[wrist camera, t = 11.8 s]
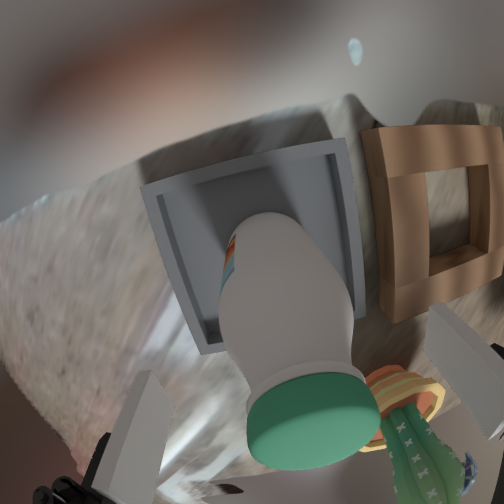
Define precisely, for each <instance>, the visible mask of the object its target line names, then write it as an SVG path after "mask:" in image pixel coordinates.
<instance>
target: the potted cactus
mask: <svg viewBox="0 0 504 504" xmlns="http://www.w3.org/2000/svg"><path fill="white" fill-rule="evenodd" d="M365 381H366V385H367V386H368V387H369V389H370V391H371V392H372V394H373V396H374V398H375V400H376V402H377V405H378V407H379V410H380V416H381V424H380V427H379V429H378V431H377V433H376V434H375V436H374V437H373V438H372V439H371V440H370V442H369V443H367V444H366V445H365V446H364V447H363V448H361V449H360V450H359V451H362V452H368V451H373V450H378V449H383V448H386V447H387V449H388V452H389V455H390V457H391V460H392V463H393V486H394V489H395V493H396V497H397V500H398V504H459V502H460V498H461V495H465V494H466V493H467V492H468V491H469V489H470V488H471V487H472V483H474V481H475V478H476V475H477V472H476V471H477V465H476V462H475V460H474V461H473V459H472V457H471V455H470V454H469V453H468V452H467V451H466V452H465V455H466V460H465V462H460V461H459V459H458V457H457V456H456V454H455V453H454V451H453V450H452V449H451V448H450V447H449V446H448V445H446V444H445V443H443V442H442V441H441V440H439V439H438V438H437V436H436V435H435V433H434V432H433V430H432V429H431V427H430V426H429V424H428V421H429V420H430V419H431V418H432V417H433V415H434V414H435V413H436V412H437V411H438V409H439V408H440V407H441V405H442V402H443V399H444V395H445V392H446V390H445V389H444V388H443V387H442V386H441V385H440V384H439V383H438V382H436V381H435V380H434V379H432V378H423V377H422V376H420V375H418V374H416V373H415V372H409V371H405V369H403V368H402V367H401V366H400V365H386V366H384V367H382V368H380V369H377V370H375V371H373V372H372V373H370V374H369V375H368V376H367V377H366V378H365Z"/></svg>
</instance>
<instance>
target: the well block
mask: <svg viewBox="0 0 504 504" xmlns="http://www.w3.org/2000/svg"><path fill="white" fill-rule="evenodd" d="M360 134H361V139H362V144H363V149H364V154H365V159H366V164H367V170H368V176H369V183H370V189H371V196H372V204H373V212H374V221H375V231H376V242H377V256H378V276H379V307H380V308H381V310H382V311H383V312H384V313H385V314H386V316H387V317H388V318H389V319H390V320H391V322H392V323H393V324H396V323H399V322H401V321H404V320H406V319H409V318H412V317H414V316H417V315H419V314H422V313H424V312H427V311H429V306H431V305H434V304H436V303H439V302H443V303H444V304H445V303H447V302H450V301H452V300H454V299H456V298H458V297H460V296H462V295H465V294H467V293H469V292H471V291H473V290H475V289H477V288H479V287H481V286H483V285H485V284H486V283H488V282H490V281H492V280H494V279H496V278H498V277H499V276H501V275H502V270H503V263H504V143H503V136H502V130H501V127H496V126H481V125H410V126H393V127H380V128H374V129H369V130H364V131H360ZM459 167H467V168H468V179H469V196H470V241H469V244H467V245H464V246H461V247H458V248H456V249H453V250H450V251H447V252H444V253H441V254H438V255H435V256H432V257H429V212H428V197H427V186H426V177H425V172H429V171H436V170H443V169H451V168H459Z"/></svg>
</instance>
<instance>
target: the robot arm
mask: <svg viewBox="0 0 504 504" xmlns="http://www.w3.org/2000/svg"><path fill="white" fill-rule="evenodd" d="M423 351H424V352H425V353H426V354H427V356H428V357H429V358H430V359H431V361H432V362H433V363H434V365H435V366H436V367H437V369H438V370H439V371H440V372H441V374H442V375H443V376H444V378H445V379H446V380H447V382H448V383H449V385H450V386H451V387H452V389H453V390H454V391H455V393H456V394H457V396H458V397H459V398H460V400H461V401H462V403H463V404H464V405H465V407H466V408H467V410H468V411H469V413H470V414H471V416H472V417H473V419H474V420H475V422H476V423H477V425H478V426H479V428H480V429H481V431H482V432H483V434H484V436H485V437H486V439H487V440H489V439H491V438H492V437H493V436H494V435H496V434H497V433H498V432H500V431H501V429H502V428H503V427H504V347H502V346H500V345H497V344H495V343H493V344H492V345H490V346H489V345H488V344H487V343H486V342H485V341H484V340H483V339H482V338H481V337H480V336H479V335H478V334H477V333H476V332H475V331H474V330H473V329H472V328H471V327H469V326H468V325H467V324H466V323H465V322H464V321H463V320H462V319H461V318H460V317H458V316H457V315H456V314H455V313H454V312H453V311H452V310H451V309H449V308H448V307H447V306H446V305H445V304H444V303H443V302H439V303H436V304H434V305H431V306H429V314H428V322H427V329H426V336H425V342H424V348H423ZM174 408H175V406H174V405H173V403H172V402H171V400H170V399H169V397H168V396H167V394H166V392H165V391H164V389H163V388H162V386H161V384H160V383H159V381H158V380H157V378H156V376H155V374H154V373H153V371H152V370H145V371H138V373H137V375H136V377H135V380H134V382H133V384H132V386H131V389H130V391H129V393H128V395H127V398H126V400H125V402H124V405H123V407H122V409H121V412H120V414H119V416H118V419H117V421H116V423H115V426H114V428H113V431H112V433H107V432H106V433H105V434H104V435H103V436H102V438H101V439H100V440H99V442H98V444H97V446H96V449H95V450H96V451H94V454H93V456H92V457H93V459H91V461H90V464H89V466H88V469H87V471H86V474H85V477H84V479H83V482H82V484H81V486H80V485H79V484H77V483H76V482H75V481H74V480H72V479H71V478H69V477H66V476H62V477H59V478H57V479H56V480H55V481H54V483H53V484H52V487H51V490H50V489H49V488H48V487H46V486H40V487H38V488H37V489H36V490H35V491H34V493H33V504H153V499H154V494H155V489H156V485H157V480H158V475H159V471H160V466H161V462H162V458H163V453H164V449H165V445H166V441H167V436H168V432H169V428H170V424H171V420H172V416H173V412H174ZM503 438H504V433H503V434H502V436H501V437H500V440H499V441H502V439H503ZM491 504H504V452H503V458H502V463H501V468H500V473H499V477H498V481H497V485H496V488H495V492H494V495H493V499H492V502H491Z"/></svg>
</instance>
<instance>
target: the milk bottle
mask: <svg viewBox="0 0 504 504" xmlns="http://www.w3.org/2000/svg"><path fill="white" fill-rule="evenodd" d="M219 325H220V331H221V335H222V338H223V342H224V344H225V347H226V349H227V351H228V353H229V355H230V357H231V358H232V360H233V361H234V363H235V364H236V366H237V367H238V368H239V370H240V371H241V372H242V374H243V375H244V377H245V378H246V380H247V382H248V384H249V387H250V389H251V394H250V396H249V398H248V400H247V404H246V410H247V414H248V417H247V443H248V448H249V450H250V453H251V455H252V456H253V458H254V459H255V460H257V461H258V462H260V463H261V464H263V465H266V466H268V467H271V468H275V469H281V470H306V469H313V468H318V467H322V466H326V465H329V464H332V463H335V462H337V461H340V460H342V459H345V458H346V457H348V456H350V455H352V454H354V453H355V452H357V451H359V450H360V449H361V448H363V447H364V446H365V445H366V444H367V443H369V442H370V440H371V439H372V438H373V437H374V436H375V434H376V433H377V431H378V429H379V427H380V424H381V416H380V410H379V407H378V405H377V402H376V400H375V398H374V396H373V394H372V392H371V391H370V389H369V387H368V386H367V385H366V381H365V378H364V376H363V374H362V373H361V372H360V371H359V370H358V369H357V368H356V367H354V366H352V361H351V343H352V335H353V325H354V318H353V308H352V303H351V299H350V296H349V293H348V290H347V288H346V286H345V283H344V281H343V279H342V278H341V276H340V275H339V273H338V272H337V270H336V269H335V267H334V266H333V264H332V263H331V261H330V260H329V259H328V258H327V256H326V255H325V254H324V253H323V251H322V250H321V249H320V248H319V246H318V245H317V244H316V243H315V242H314V240H313V239H312V238H311V237H310V236H309V235H308V233H307V232H306V231H305V230H304V229H303V228H302V227H301V226H300V225H299V224H298V223H297V222H296V221H295V220H293V219H292V218H290V217H289V216H286V215H284V214H281V213H276V212H263V213H259V214H255V215H253V216H251V217H249V218H247V219H245V220H244V221H243V222H241V223H240V224H239V225H238V226H237V228H236V229H235V230H234V232H233V233H232V235H231V237H230V240H229V243H228V247H227V252H226V257H225V263H224V269H223V275H222V282H221V289H220V299H219Z"/></svg>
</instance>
